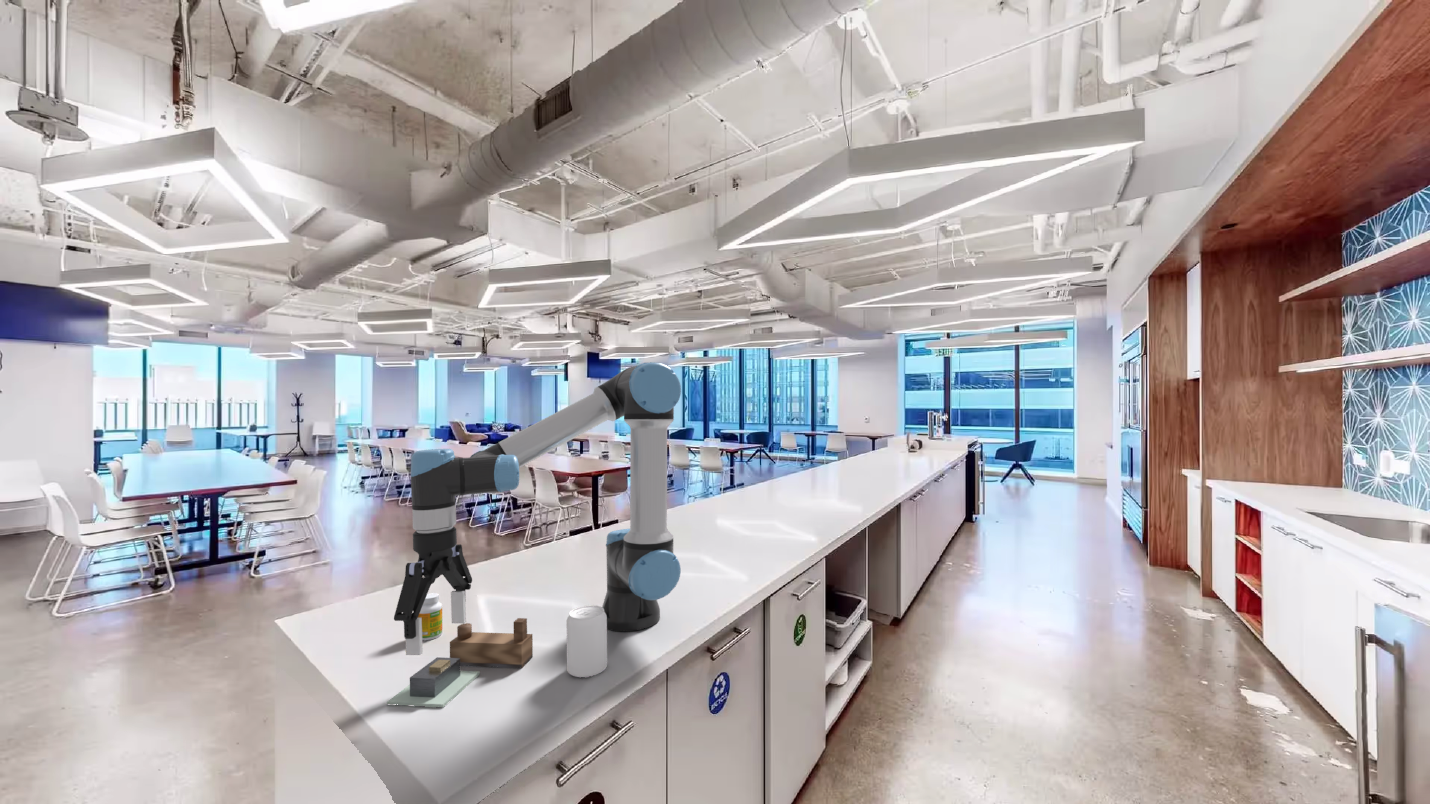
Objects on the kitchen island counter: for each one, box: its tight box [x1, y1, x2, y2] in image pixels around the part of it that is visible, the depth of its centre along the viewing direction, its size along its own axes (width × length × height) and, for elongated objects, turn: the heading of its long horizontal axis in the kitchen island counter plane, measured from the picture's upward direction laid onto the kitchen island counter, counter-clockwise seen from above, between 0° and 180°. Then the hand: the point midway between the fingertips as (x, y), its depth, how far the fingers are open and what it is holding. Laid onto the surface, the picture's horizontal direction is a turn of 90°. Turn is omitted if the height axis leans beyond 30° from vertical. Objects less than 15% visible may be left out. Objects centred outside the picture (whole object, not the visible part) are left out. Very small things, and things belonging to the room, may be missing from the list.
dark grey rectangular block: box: [409, 657, 461, 698], centre depth 101 cm, size 5×8×4 cm, turn 174°
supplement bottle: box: [418, 592, 443, 641], centre depth 125 cm, size 5×5×10 cm
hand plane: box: [449, 617, 534, 669], centre depth 112 cm, size 16×5×9 cm, turn 84°
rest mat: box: [386, 670, 481, 708], centre depth 101 cm, size 11×12×1 cm
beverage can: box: [566, 604, 608, 678], centre depth 107 cm, size 8×8×12 cm
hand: (438, 637), depth 101 cm, fingers open, 13 cm apart
